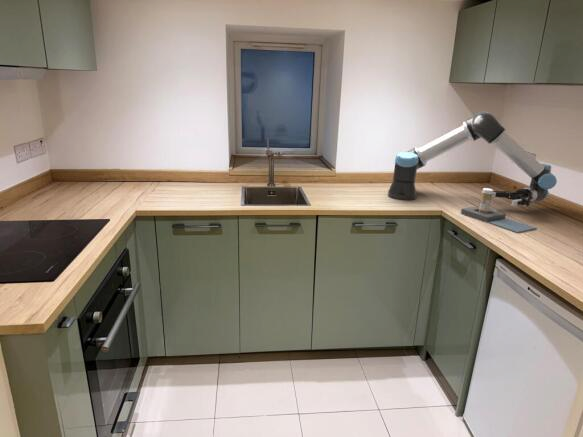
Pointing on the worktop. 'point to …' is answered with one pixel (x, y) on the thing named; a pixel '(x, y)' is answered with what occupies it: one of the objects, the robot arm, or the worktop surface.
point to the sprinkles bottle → (485, 200)
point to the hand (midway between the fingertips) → (499, 199)
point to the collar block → (488, 217)
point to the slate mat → (512, 225)
